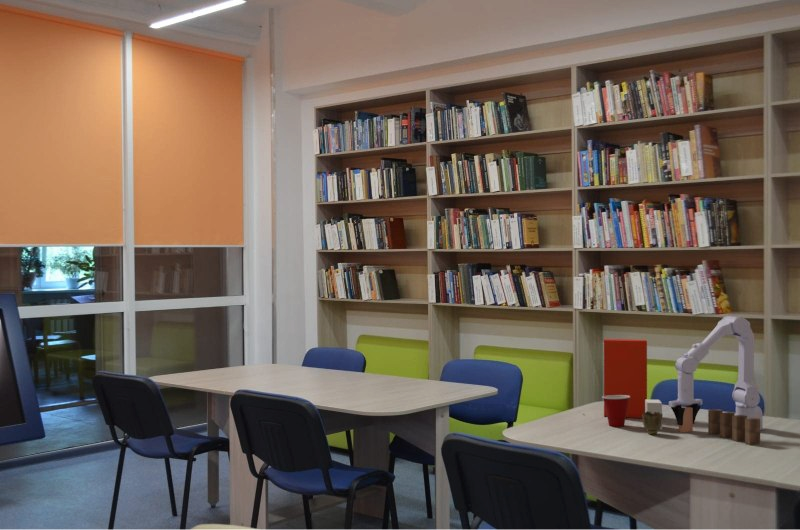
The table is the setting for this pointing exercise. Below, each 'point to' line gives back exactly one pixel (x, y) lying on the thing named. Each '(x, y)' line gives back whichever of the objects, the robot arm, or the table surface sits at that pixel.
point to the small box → (653, 407)
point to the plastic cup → (616, 409)
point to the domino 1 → (687, 420)
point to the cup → (652, 422)
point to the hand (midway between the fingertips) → (685, 424)
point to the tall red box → (626, 373)
